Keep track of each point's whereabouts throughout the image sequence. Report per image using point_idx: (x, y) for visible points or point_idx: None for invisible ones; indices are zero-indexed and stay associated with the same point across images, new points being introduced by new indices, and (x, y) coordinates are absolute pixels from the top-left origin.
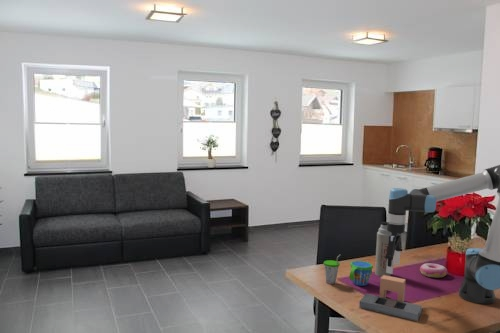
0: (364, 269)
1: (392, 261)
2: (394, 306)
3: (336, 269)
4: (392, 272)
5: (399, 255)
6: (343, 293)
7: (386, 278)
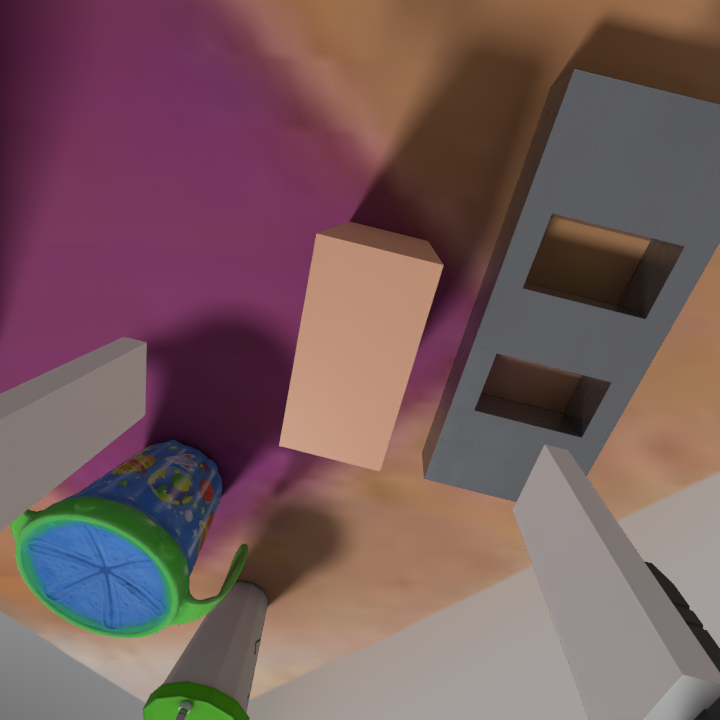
0: (176, 554)
1: (683, 640)
2: (610, 309)
3: (226, 669)
4: (566, 459)
5: (4, 424)
6: (367, 550)
7: (366, 423)
